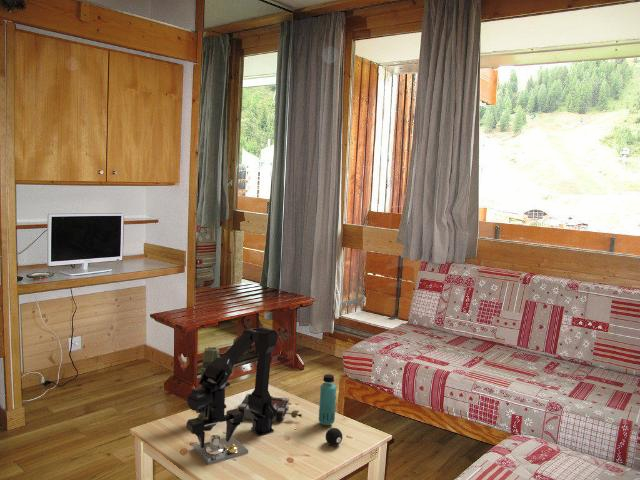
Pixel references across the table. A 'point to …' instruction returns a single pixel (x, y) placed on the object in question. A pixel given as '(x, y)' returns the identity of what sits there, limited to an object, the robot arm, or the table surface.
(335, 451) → the table surface
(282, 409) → the machine vise
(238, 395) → the table surface
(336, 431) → the billiard ball
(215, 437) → the silver metal knob
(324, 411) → the beverage bottle
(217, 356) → the mechanical leg
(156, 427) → the table surface
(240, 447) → the plate
